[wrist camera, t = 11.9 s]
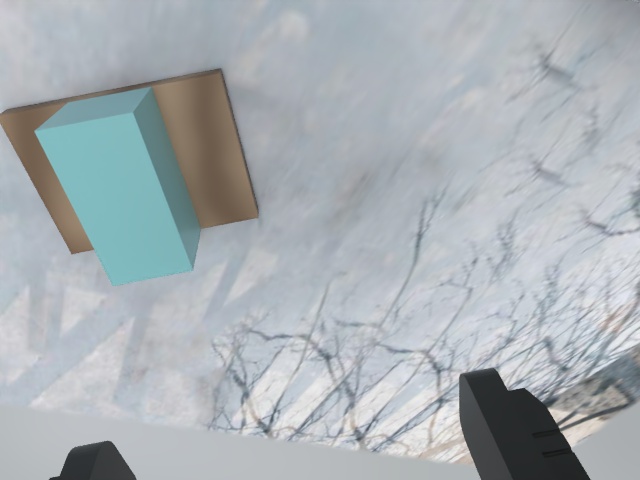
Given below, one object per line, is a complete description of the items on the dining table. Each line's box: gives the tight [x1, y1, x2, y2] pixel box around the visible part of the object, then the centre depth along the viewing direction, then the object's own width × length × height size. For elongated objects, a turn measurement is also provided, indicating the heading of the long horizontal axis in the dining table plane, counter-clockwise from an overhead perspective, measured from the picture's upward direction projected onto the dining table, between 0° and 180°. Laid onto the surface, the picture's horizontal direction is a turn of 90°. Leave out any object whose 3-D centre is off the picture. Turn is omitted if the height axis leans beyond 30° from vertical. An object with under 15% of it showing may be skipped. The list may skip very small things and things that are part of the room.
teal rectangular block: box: [34, 87, 201, 286], centre depth 34 cm, size 6×12×6 cm, turn 9°
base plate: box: [0, 69, 258, 254], centre depth 36 cm, size 16×12×4 cm
